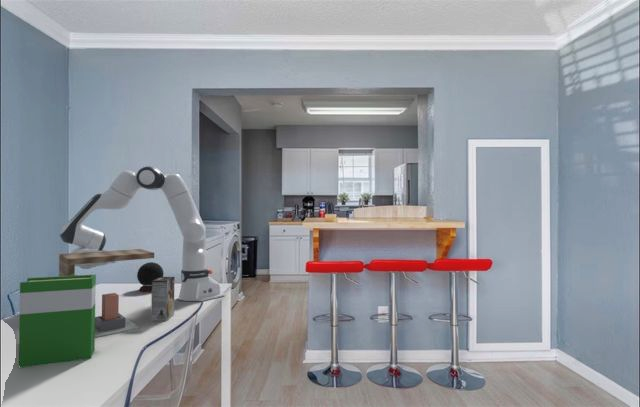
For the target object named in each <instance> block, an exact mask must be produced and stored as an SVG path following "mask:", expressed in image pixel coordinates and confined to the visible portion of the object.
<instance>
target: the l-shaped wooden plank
mask: <svg viewBox="0 0 640 407" xmlns="http://www.w3.org/2000/svg"><path fill="white" fill-rule="evenodd" d="M58 258H59V259H58V260H59V261H58V276H76V275H75V270H76V269H75V267H76V266H75V264H86V263H99V262H111V261H116V262H123V261H133V260H135V261H136V260H147V259H154V258H155V252H152V251H149V250H146V249H141V248H138V249H137V248H136V249H122V250H121V249H120V250H118V249H117V250H105V251H102V252H86V253H71V252H70V253H59V256H58Z"/></svg>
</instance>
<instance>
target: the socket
mask: <svg viewBox="0 0 640 407" xmlns="http://www.w3.org/2000/svg"><path fill="white" fill-rule="evenodd" d="M136 330H140V326H138V325H137V324H135V323H134V322H132V321H131V320H130V319H128V318H127V317H125V316H124V315H123V314H121V313H119V312H118V318H117V319H111V320H105V321H103V320H102V315H99V316H95V339H97V338H100V337H105V336H110V335H116V334H121V333H126V332H130V331H132V332H133V331H136Z"/></svg>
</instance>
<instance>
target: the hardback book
mask: <svg viewBox="0 0 640 407" xmlns="http://www.w3.org/2000/svg"><path fill="white" fill-rule="evenodd" d="M96 277H97V274H81V275H80V274H79V275H75V276H59V275H58V276H40V277H39V276H38V277H27V280H26V281H20V283H19V324H18V325H19V328H18V330H19V331H18V367H19V366H20V367H21V368H28V367H34V366H43V365H51V364H57V363H59V364H60V363H68V362H76V361H83V360H91V359H92V357H93V354H94V352H95V350H96V349H95V343H96V342H95V339H96V338H95V317H96V293H97V292H96V289H97V288H96V284H97V283H96V282H97V278H96Z"/></svg>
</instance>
